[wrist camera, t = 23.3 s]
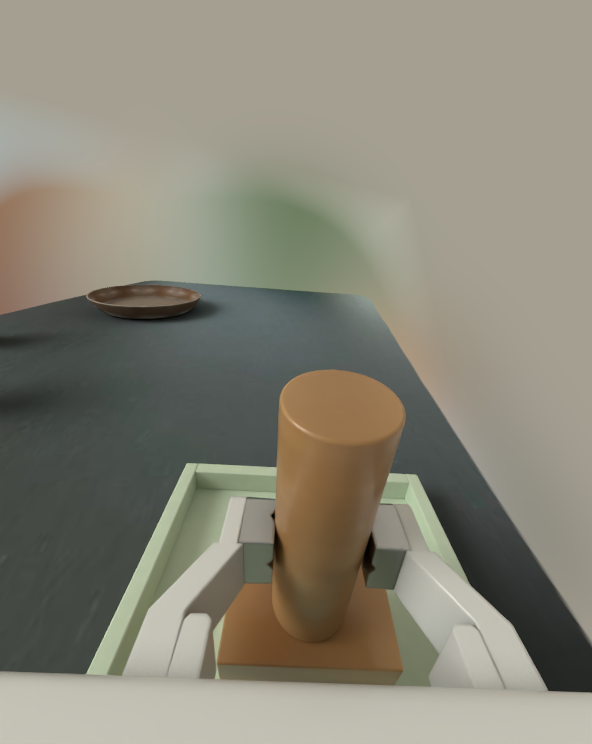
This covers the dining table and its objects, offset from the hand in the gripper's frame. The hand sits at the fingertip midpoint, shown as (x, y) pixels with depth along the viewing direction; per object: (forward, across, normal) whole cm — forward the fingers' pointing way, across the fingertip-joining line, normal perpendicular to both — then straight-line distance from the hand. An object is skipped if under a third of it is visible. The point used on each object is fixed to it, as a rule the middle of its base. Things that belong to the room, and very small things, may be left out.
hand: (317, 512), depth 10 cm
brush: (0, 0, +7) cm, 7 cm away
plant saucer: (+55, +31, +8) cm, 64 cm away
